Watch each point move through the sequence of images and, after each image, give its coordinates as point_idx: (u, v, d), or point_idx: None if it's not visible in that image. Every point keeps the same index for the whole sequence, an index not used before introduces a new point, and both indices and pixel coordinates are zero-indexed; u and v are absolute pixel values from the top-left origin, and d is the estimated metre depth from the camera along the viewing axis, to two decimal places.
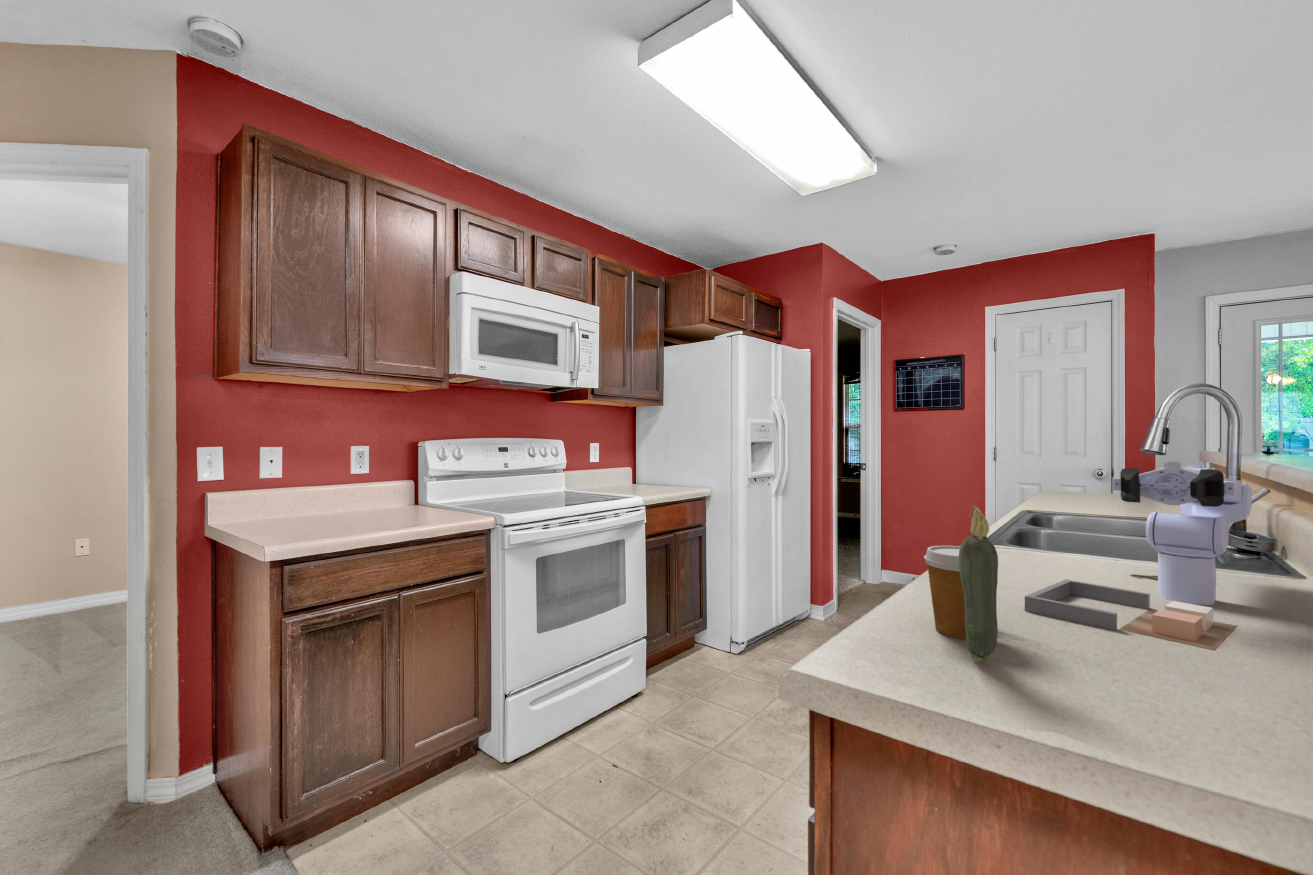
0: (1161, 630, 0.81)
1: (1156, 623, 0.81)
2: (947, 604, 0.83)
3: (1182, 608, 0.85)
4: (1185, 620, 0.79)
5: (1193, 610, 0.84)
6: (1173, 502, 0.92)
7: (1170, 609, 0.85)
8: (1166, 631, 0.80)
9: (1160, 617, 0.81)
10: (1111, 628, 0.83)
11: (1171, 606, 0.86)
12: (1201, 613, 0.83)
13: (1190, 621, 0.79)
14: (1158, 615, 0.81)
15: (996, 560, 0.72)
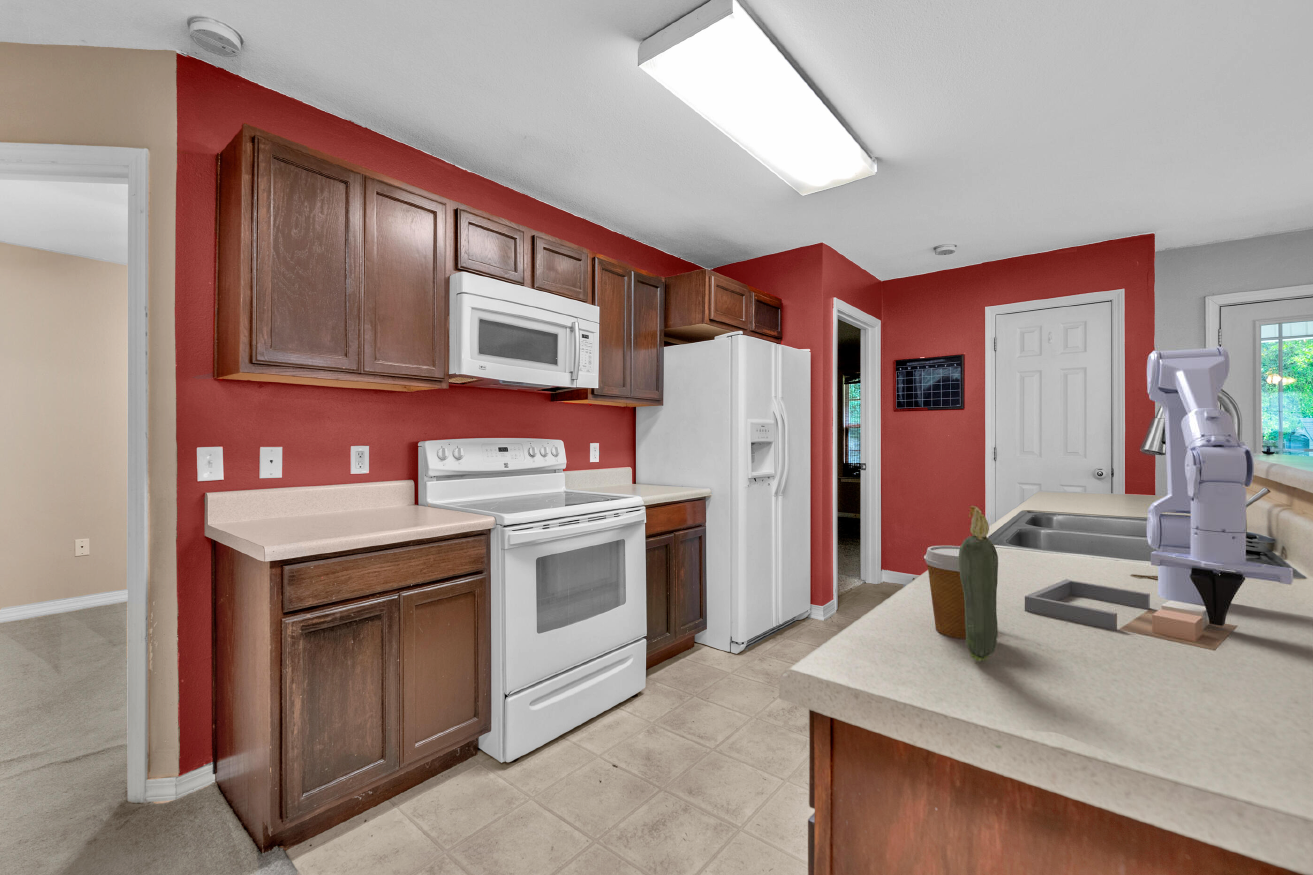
0: (1161, 630, 0.81)
1: (1156, 623, 0.81)
2: (947, 604, 0.83)
3: (1178, 607, 0.85)
4: (1185, 620, 0.79)
5: (1189, 609, 0.84)
6: None
7: (1166, 608, 0.86)
8: (1166, 631, 0.80)
9: (1160, 617, 0.81)
10: (1111, 628, 0.83)
11: (1167, 605, 0.86)
12: (1197, 612, 0.83)
13: (1190, 621, 0.79)
14: (1158, 615, 0.81)
15: (996, 560, 0.72)
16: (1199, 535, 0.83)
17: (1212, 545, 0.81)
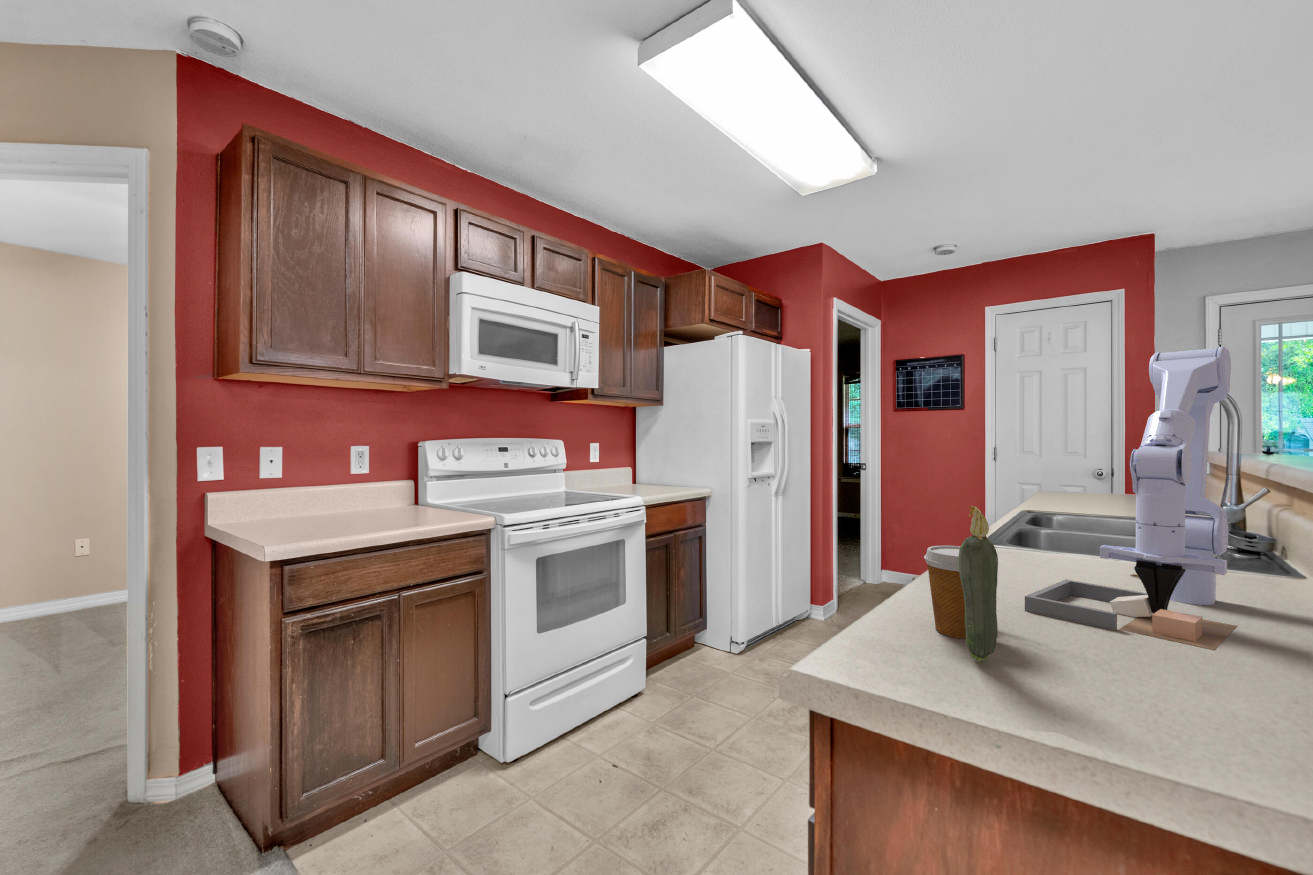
0: (1161, 630, 0.81)
1: (1156, 623, 0.81)
2: (947, 604, 0.83)
3: (1124, 600, 0.90)
4: (1185, 620, 0.79)
5: (1133, 599, 0.89)
6: None
7: (1115, 603, 0.91)
8: (1166, 631, 0.80)
9: (1160, 617, 0.81)
10: (1111, 628, 0.83)
11: (1115, 601, 0.91)
12: (1140, 600, 0.88)
13: (1190, 621, 0.79)
14: (1158, 615, 0.81)
15: (996, 560, 0.72)
16: (1143, 529, 0.88)
17: (1154, 538, 0.86)
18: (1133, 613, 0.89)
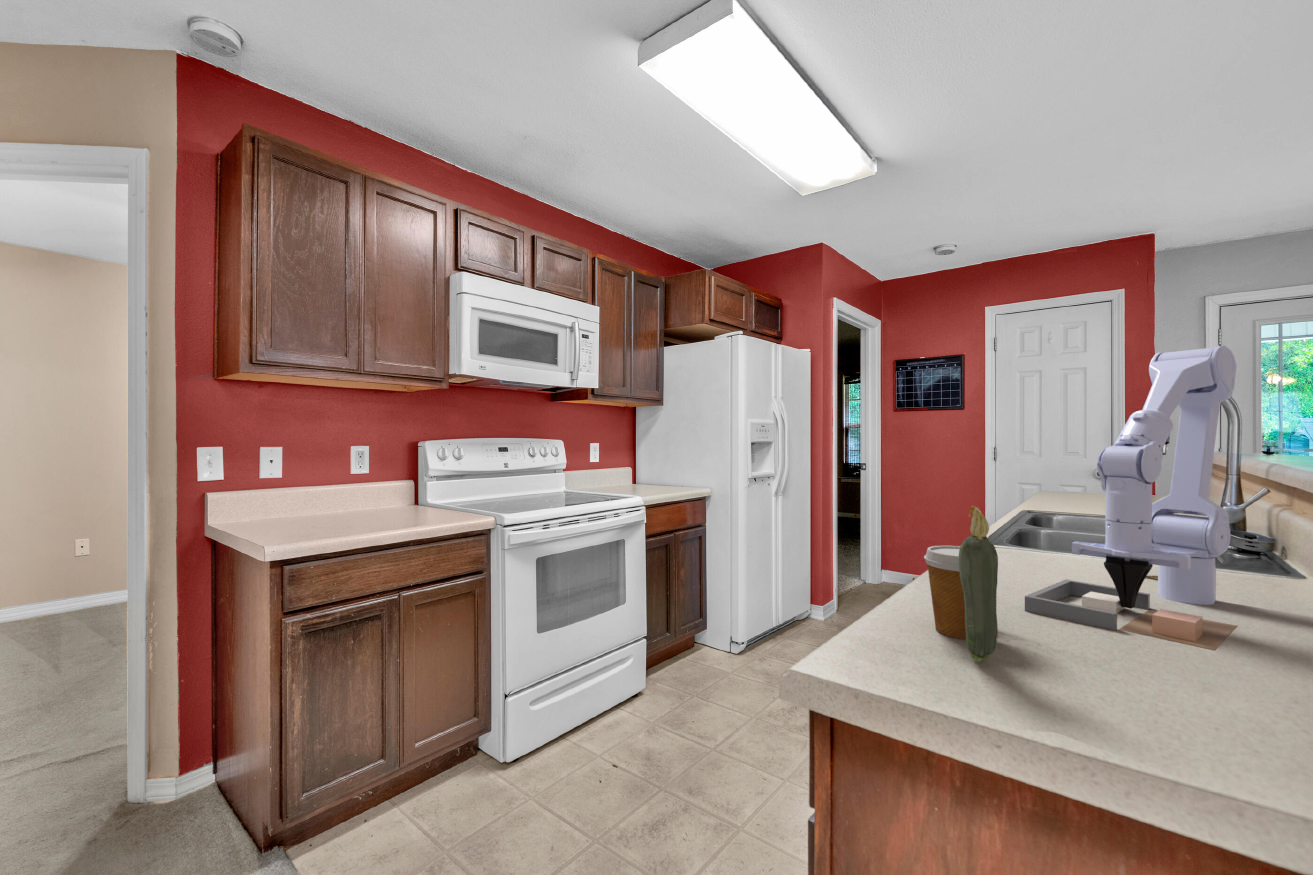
0: (1161, 630, 0.81)
1: (1156, 623, 0.81)
2: (947, 604, 0.83)
3: (1096, 598, 0.93)
4: (1185, 620, 0.79)
5: (1105, 599, 0.92)
6: None
7: (1086, 599, 0.93)
8: (1166, 631, 0.80)
9: (1160, 617, 0.81)
10: (1111, 628, 0.83)
11: (1087, 596, 0.94)
12: (1112, 602, 0.91)
13: (1190, 621, 0.79)
14: (1158, 615, 0.81)
15: (996, 560, 0.72)
16: (1111, 526, 0.91)
17: (1121, 535, 0.89)
18: None
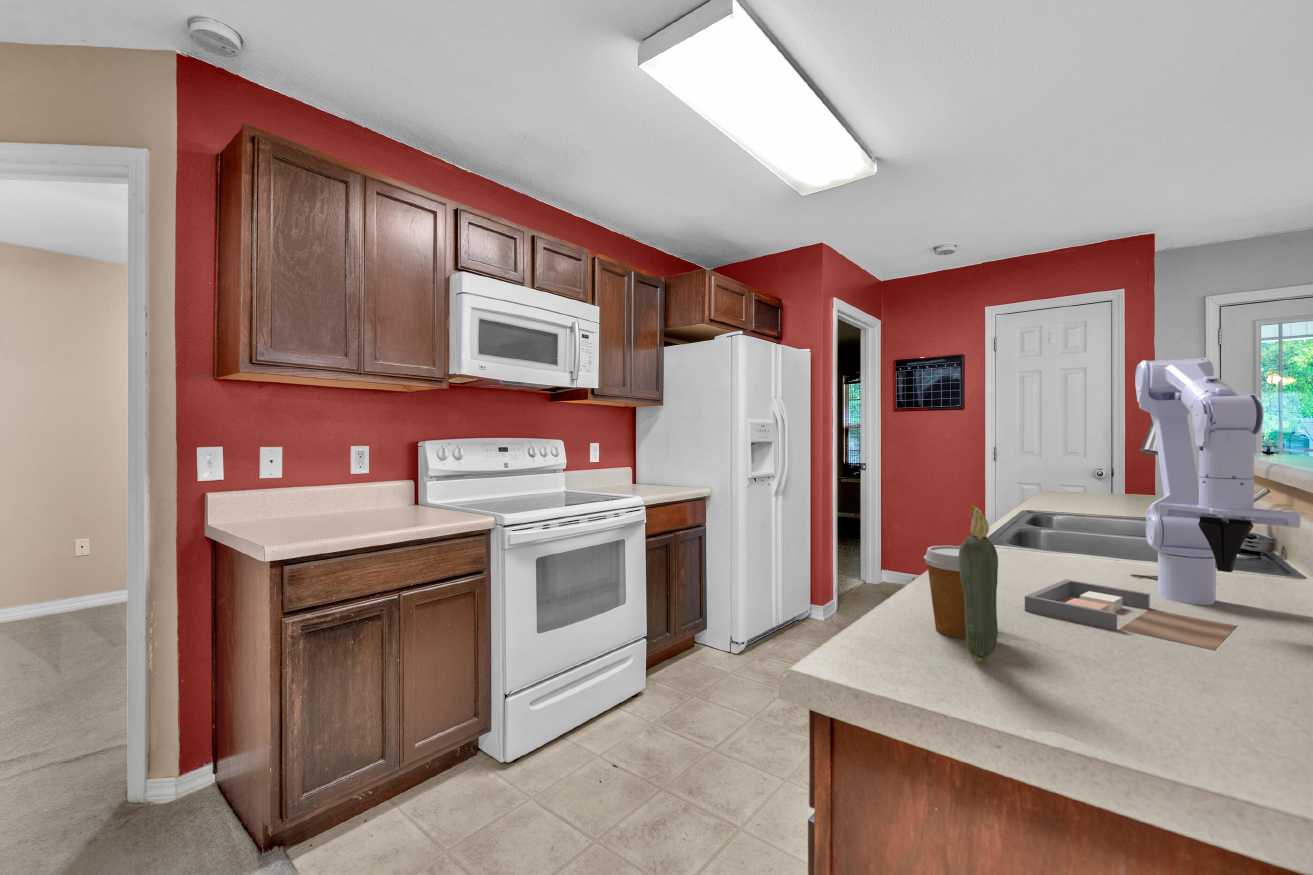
0: None
1: None
2: (947, 604, 0.83)
3: (1094, 597, 0.93)
4: (1091, 607, 0.87)
5: (1103, 599, 0.92)
6: None
7: (1084, 598, 0.94)
8: None
9: None
10: (1111, 628, 0.83)
11: (1085, 595, 0.94)
12: (1109, 601, 0.91)
13: (1095, 608, 0.87)
14: (1069, 603, 0.90)
15: (996, 560, 0.72)
16: (1208, 483, 0.84)
17: (1220, 492, 0.82)
18: None
